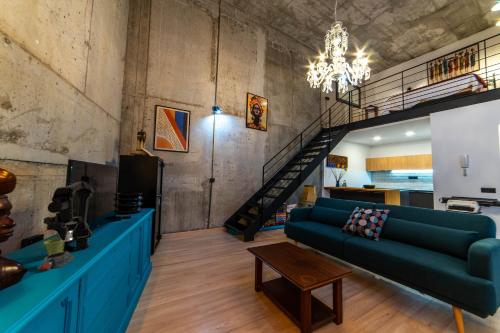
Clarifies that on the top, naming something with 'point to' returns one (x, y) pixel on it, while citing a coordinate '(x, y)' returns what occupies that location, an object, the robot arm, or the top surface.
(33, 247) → the top surface
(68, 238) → the coupling
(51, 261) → the valve body
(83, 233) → the robot arm
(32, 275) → the top surface
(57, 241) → the plant pot
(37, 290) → the top surface
